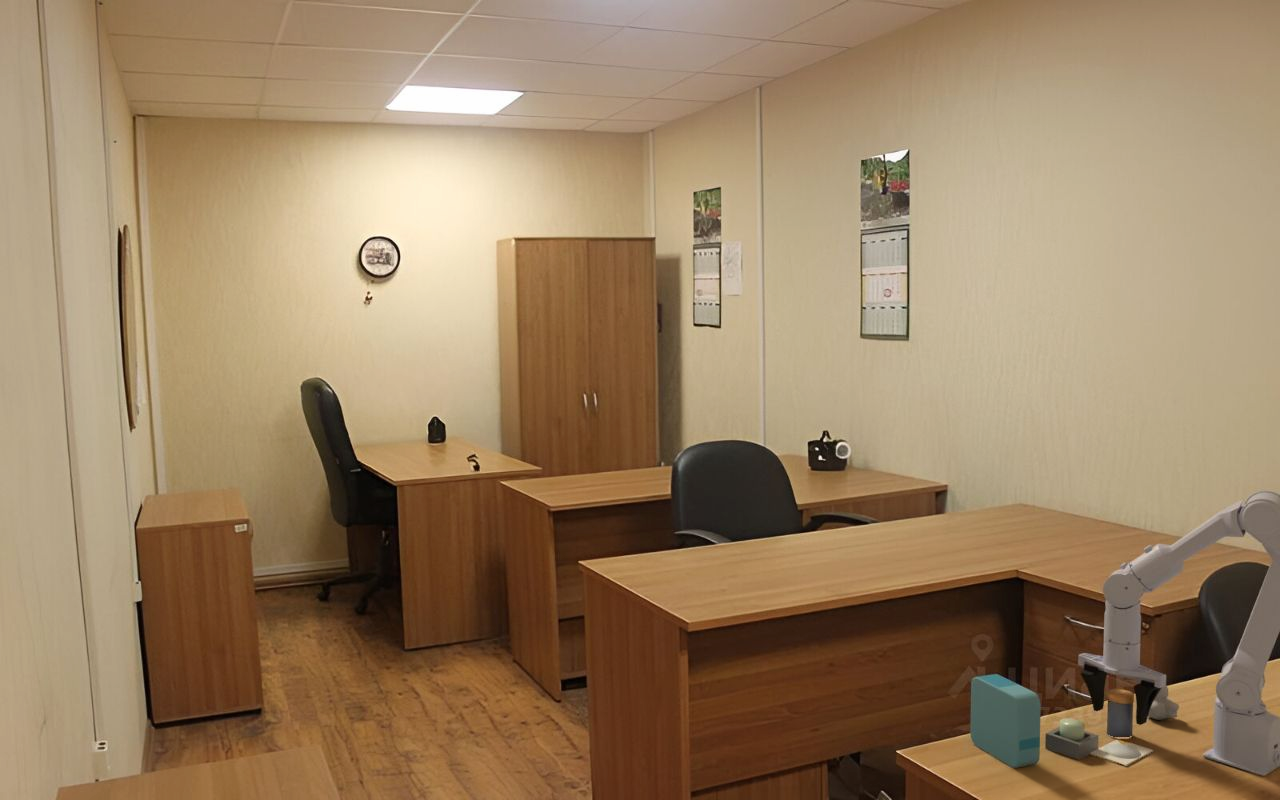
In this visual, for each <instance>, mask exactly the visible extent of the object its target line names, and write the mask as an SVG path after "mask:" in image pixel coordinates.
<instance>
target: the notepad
mask: <svg viewBox="0 0 1280 800" xmlns="http://www.w3.org/2000/svg"><path fill="white" fill-rule="evenodd" d="M1127 742H1128V741H1126V743H1127ZM1130 743H1131V745H1130ZM1151 752H1152V753H1154V750H1153V749H1150V748H1147V747H1144V746H1141V745H1137V744H1135V743H1132V742H1129V744H1128V745H1127V744H1125V745H1123V744H1121V743H1120V742H1119V741H1118V740H1117V739H1115V740H1113V741H1111V742H1109V743H1106V744H1105V745H1103V746H1101V747H1098V749H1097V750H1095V751H1093V752H1091V753H1090V755H1091V756H1093V755H1094V756H1093V757H1096V756H1097V758H1099V757H1100V758H1099V759H1102V758H1103V759H1102V760H1105V759H1107V760H1106V761H1108V760H1110V761H1109V762H1111V761H1113V762H1112V763H1114V762H1116V763H1119V764H1122V765H1125V766H1126V765H1128V766H1130V765H1131V764H1130V763H1132V762H1134V761H1135V762H1137V761H1139V760H1141V759H1143V758H1144V756H1145V757H1146V755H1147V754H1148V755H1150V754H1152V753H1151ZM1149 753H1150V754H1149ZM1090 755H1089V756H1090ZM1148 755H1147V756H1148ZM1142 757H1143V758H1142ZM1140 758H1141V759H1140ZM1138 759H1139V760H1138ZM1136 760H1137V761H1136ZM1135 762H1134V763H1135ZM1116 763H1115V764H1116ZM1119 764H1118V765H1119ZM1129 764H1130V765H1129ZM1132 764H1133V763H1132ZM1122 765H1121V766H1122ZM1125 766H1124V767H1125ZM1126 767H1127V766H1126Z"/></svg>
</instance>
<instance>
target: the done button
mask: <svg viewBox="0 0 1280 800" xmlns="http://www.w3.org/2000/svg"><path fill="white" fill-rule="evenodd" d="M1085 725H1086V724H1085V722H1083V721H1081V720H1079V719H1076V718H1067V717H1066V718H1061V719H1060V721H1059V727H1060V736H1061V737H1064V738H1067V739H1070V740H1073V741H1076V742H1078V741H1080V740H1082V739H1084V731H1085V728H1086V727H1085Z"/></svg>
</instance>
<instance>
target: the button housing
mask: <svg viewBox="0 0 1280 800" xmlns="http://www.w3.org/2000/svg"><path fill="white" fill-rule="evenodd" d="M1045 749H1046V750H1049V751H1051V752H1055V753H1058V754H1060V755H1064V756H1065V757H1069V758H1071V759H1073V760H1074V759H1075V760H1077V761H1081V760H1082V759H1084V758H1085V757H1086V758H1087V757H1088V756H1090V753H1091V752H1093V751H1095V750H1097V749H1099V734H1094V733H1092V732H1089V731H1086V730H1084V739H1082V740H1080V741H1078V742H1076V741H1073V740H1070V739H1067V738H1064V737H1061V736H1060V726H1058V727H1056V728H1054V729H1052V730H1050V731H1048V732H1046V733H1045Z"/></svg>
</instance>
